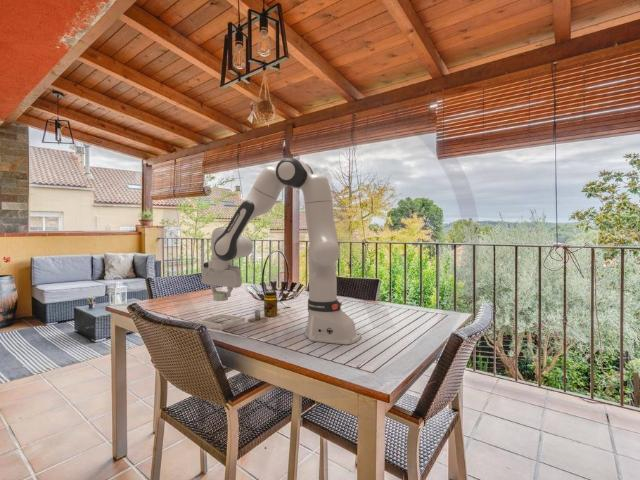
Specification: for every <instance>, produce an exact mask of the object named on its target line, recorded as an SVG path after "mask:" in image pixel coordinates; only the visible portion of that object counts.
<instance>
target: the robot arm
mask: <svg viewBox="0 0 640 480" xmlns="http://www.w3.org/2000/svg"><path fill="white" fill-rule="evenodd" d="M286 187H290V188H292V189H300V190H301V191H302V194H303V200H304V201H303V202H304V211H305V220H306V221H305V222H306V227H307V235H308V241H309V245H308V248H307V254H308V255H307V257H308V261H307V262H308V299H307V312H308V314H307V322H306V328H305V332H304V336H305V337H307V338H308V340H309V341H310V342H318V343H328V344H334V345H335V344H337V345H351V344H355V343H357V342H358V341H360V339H361V338H362V333H361V332H359V331H356V324H355V321H354V320H353V318H351V317H350V316H349V315H348V314H347V313H346V312H344V311H343V310H342V308H341V306H342V305H343V301H339V300H338V299H337V297H338V296H337V295H338V292H337V291H338V290H337V289H338V285H337V284H338V279H337V272H336V263H337V262H338V260H339V258H340V253H341V251H340V245H339V239H338V233H337V229H336V228H337V227H336V223H335V216H334V206H333V205H334V204H333V196H332V190H331V186H330V183H329V180H328V178H327V176H325V175H324V174H321V173H320V174H319V173H314V171H313V170H312V168H311V166H309V165H308V164H307V163H305V162H304V161H302V160H301V159H296V158H294V157H286V158H282V160H281V159H280V160H279V162H277V165H276V166H274V165H267V166H265V167H264V168H263V169H262V170H261V172H260V173H259V175H258V177H257V178H256V180H255V181H254V183H253V186H252V187H251V189H250V191H249V193H248V194H247V195H246V198H245V199H244V201H243V202H242V203H241V204H240V205H239V207H238V208H237V209H236V211H235V213H234V214H233V216H232V218H231V220H230V221H229V223H228V224H227V226H223V227H217V228H215V229H213V230H212V233H211V240H210V248H211V256H210V260H208V261H205V262H203V263H202V265H201V268H202V270H201V282H202V285H210V289H211V292H212V294H211V295H213V296H214V292H217V291H218V290H217V288H216V287H218V286H219V287H226V289H227V291H226V292H227V293H225V297H228V298H230V297H232V294H231V293H232V291H233V289H236V288H240V287H241V286H242V284H243V283H242V273H241V268H240V267H239V266H238V265H233V260H235V259H236V260H237V259H241V258H245V257H247V256H249V255H250V254H251V253H252V251H253V242H252V240H251V238H249V236H246V235H243V232H244V230H245V229H246V227H247V226H248V224H249V223H250V222H251V221H252V220H253V219H256V218H257V217H258V216H261V215H264V214H267V213H269V212H270V211H271V209H273V207H274V205H275V204H276V202H277V200H278V199H279V196H280V194H281V192H282V191H283V189H284V188H286Z"/></svg>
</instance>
